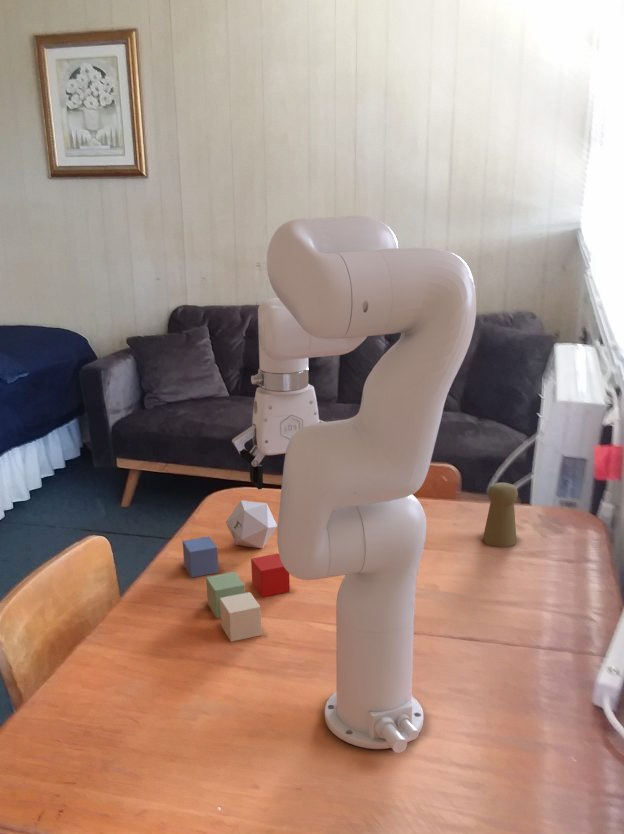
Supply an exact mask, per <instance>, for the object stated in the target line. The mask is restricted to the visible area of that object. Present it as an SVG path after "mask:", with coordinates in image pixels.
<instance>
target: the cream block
mask: <svg viewBox="0 0 624 834" xmlns="http://www.w3.org/2000/svg"><path fill="white" fill-rule="evenodd" d="M261 608H262V607H261V605H260V604H259V602H258V601H257V600H256V598H255V597H254V595H253V594H252V593H251V592H250V591H249V592H245V593H243V594H238V595H233V596H228V597H223V598H220V613H221V617H220V626H221V628H222V630H223V631H224V633H225V634H226V636H227V638H228V639H229V641H230V642H231V643H232V642H237V641H241V640H245V639H250V638H254V637H260V636H262V631H263V630H262V609H261Z"/></svg>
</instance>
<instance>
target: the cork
mask: <svg viewBox="0 0 624 834" xmlns="http://www.w3.org/2000/svg"><path fill="white" fill-rule="evenodd" d="M487 496H488V500H489V501H490V503H489V507H488V513H487V517H486V521H485V527H484V530H483V536H482V540H483V542H484V543H485V544H488V545H489V546H493V547H499V548H500V547H501V548H506V547H512V546H514V545H516V543H518V542H517V526H516V511H515V503H516V502H517V500H518V497H519V492H518V489H517V487H516V486H515V485H513V484H511V483H508V482H495V483H493V484H491V485H490V487H489V488H488V491H487Z"/></svg>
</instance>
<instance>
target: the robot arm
mask: <svg viewBox="0 0 624 834" xmlns="http://www.w3.org/2000/svg"><path fill="white" fill-rule="evenodd" d="M398 243H399V242H398V240H397V237H396V235H395V233H394V232H393V230H392V229H391V228H390V227H389V226H388V224H386V223H384V222H383V221H381V220H380V219H377V218H375V217H371V216H367V215H343V216H341V215H340V216H327V217H326V216H325V217H312V218H311V217H309V218H308V217H307V218H298V219H291V220H288V221H286V222H285V223H283V224H281V225H280V226H279V227H278V228H277V229H276V230H275V232H274V233H273V235H272V237H271V238H270V242H269V244H268V247H267V248H268V250H267V253H266V254H267V255H266V270H267V277H268V280H269V283H270V285H271V288H272V290H273V292H274V294H275V295H276V296H277V297H271V298H267V299H264V300H262V301H261V302H260V304H259V305H258V308H257V326H258V327H257V328H258V330H257V331H258V358H259V359H258V361H259V368H258V370H257V374H255V375H251V376H250V382H251V384H252V385H257V386H258V387H257V388H256V389H255V390H256V391H255V395H254V400H253V409H252V420H251V421H252V422H251V425H250V427H248V428H246V429H245V430H244V431H242V432H240V433H239V434H238V435H236V436H235V437H233V438H232V440H231V443H232V445H233V446H234V448H235V450H237V453H238V455H240V457H242V458H243V459H244V460H245V461H246V462H248V463H249V481H250V483H251V484H253V485H254V487H255V488H256V489H257V490H263V489H264V475H263V471H264V469H263V465H262V464H261V462H262V461H263V459H264V458H265V457H266V456H276V455H285V456H284V461H283V469H282V478H281V479H282V480H281V489H280V499H279V507H278V519H277V528H276V530H277V532H276V535H277V537H276V541H277V551H278V554H279V556H280V559H281V562H282V564H283V566H284V568H285V569H286V570H287V572H288V573H289V575H291V576H292V577H294V578H296V579H298V580H304V581H312V580H323V579H328V578H333V577H334V578H335V577H340V576H344V577H343V579H342V580H341V583H340V585H339V588H338V591H337V594H336V595H337V596H336V604H335V605H336V610H335V613H336V615H335V617H336V619H335V621H336V622H335V623H336V625H335V626H336V627H335V628H336V629H335V631H336V633H335V635H336V636H335V637H336V639H335V641H336V642H335V643H336V647H335V650H336V651H335V652H336V653H335V655H336V663H335V664H336V665H335V666H336V674H335V675H336V681H335V683H336V691H335V692H333V693H332V694H331V696H330V697H328V699H327V701H326V702H325V705H324V721H325V724H326V725H327V727H328V729H329V731H330V732H331V733H332V734H333V735H335V736H336V737H337V738H339V739H340V740H341V741H344V742H346V743H348V744H350V745H353V746H355V747H360V748H363V749H371V750H386V749H392V751H393V752H394V753H396V754H400V753H402V752H404V751H405V750H406V749H407V748H408V743H409V742H411V741H415V740H416V739H418V737H419V736H420V733H421V731H422V729H423V726H424V718H425V717H424V710H423V708H422V706H421V704H420V702H418V700H417V699H416V698H415V697H414V696H413V671H414V670H413V669H414V641H415V640H414V639H415V638H414V637H415V617H416V615H415V614H416V611H415V610H416V596H417V595H416V594H417V582H418V574H419V569H420V565H421V560H422V555H423V553H424V548H425V544H426V538H427V517H426V513H425V510H424V508H423V506H422V504H421V502H420V501H419V499H417V498H416V496H414V494H416V493H417V492H418V491H419V490H420V489H421V487H422V486H423V484H424V482H425V480H426V478H427V476H428V473H429V469H430V466H431V462H432V459H433V454H434V449H435V446H436V443H437V437H438V433H439V430H440V425H441V422H442V421H441V420H442V418H443V417H442V416H443V413H444V407H445V403H446V401H447V397H448V394H449V392H450V389H451V387H452V386H453V385H452V384H453V383H454V380H455V378H456V377H457V374H458V372H459V370H460V368H461V366H462V365H463V362H464V360H465V357H466V355H467V353H468V350H469V348H470V345H471V341H472V338H473V334H474V330H475V325H476V318H477V293H476V285H475V282H474V277H473V275H472V272H471V269H470V268H469V266H468V264H467V263H466V262H465V261H464V259H462V257H460V256H458V255H457V254H456V253H453V252H451V251H449V250H446V249H441V248H437V247H436V248H435V247H424V246H423V247H422V246H411V247H407V246H406V247H399V244H398ZM391 334H393V335H394V334H400V336H399V339H398V340H397V341H396V342H395V343H394V344H393V345H391V347H390V348H389V349H388V350H387V351H386V352H385V353H384V354H383V355H381V357H380V359H379V360H378V361H377V363H376V364H375V365H374V366H373V368H372V369H371V371H370V373H369V374H368V375H367V377H366V379H365V382H364V385H363V388H362V395H361V401H360V405H359V410H358V412H357V414H355V415H354V416H353V417H349V418H347V419H338V420H332V421H324V420H322V419H320V415H319V407H318V401H317V395H316V391H315V386H313V385H311V384H310V383H309V359H312V358H318V357H319V358H320V357H333V356H342V355H347V354H348V353H351V352H353V351H354V350H356V349H357V348H358V347H359V346H360V345H361V344H362V343H364V341H366V339H367V338H368V337H373V336H383V335H391ZM250 440H252V445H253V447H252V448H251V450H250V451H249V450H248V449H246V446H245V445H246V443H247V442H249V441H250Z"/></svg>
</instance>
